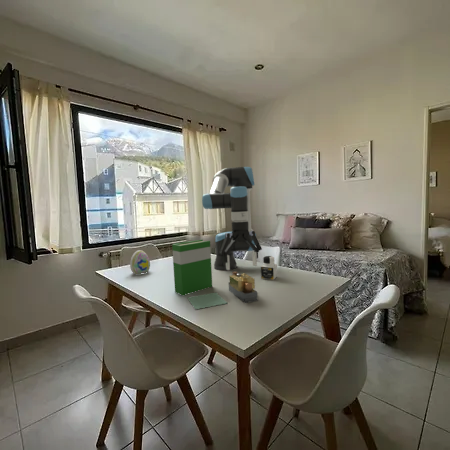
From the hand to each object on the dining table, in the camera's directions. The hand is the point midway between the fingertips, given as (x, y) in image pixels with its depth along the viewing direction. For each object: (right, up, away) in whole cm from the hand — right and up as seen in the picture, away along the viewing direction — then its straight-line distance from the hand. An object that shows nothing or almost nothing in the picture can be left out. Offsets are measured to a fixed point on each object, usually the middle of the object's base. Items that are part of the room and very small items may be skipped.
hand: (241, 267), depth 116 cm
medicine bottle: (+17, -10, +27) cm, 34 cm away
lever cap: (0, -9, +2) cm, 9 cm away
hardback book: (-23, -13, +13) cm, 30 cm away
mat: (-16, -14, -3) cm, 22 cm away
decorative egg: (-62, -12, +48) cm, 79 cm away
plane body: (0, -13, +2) cm, 13 cm away
